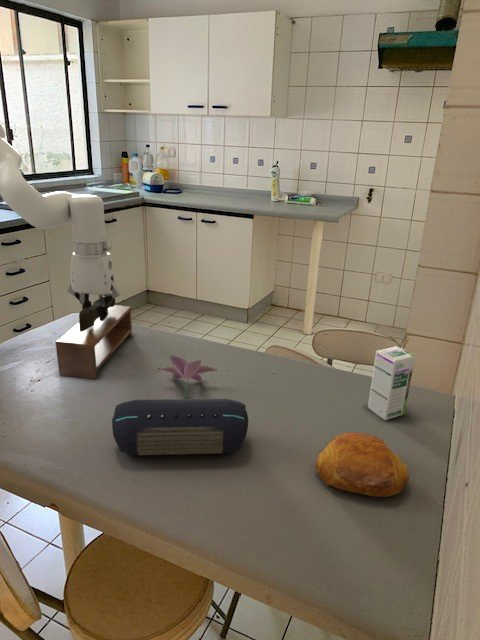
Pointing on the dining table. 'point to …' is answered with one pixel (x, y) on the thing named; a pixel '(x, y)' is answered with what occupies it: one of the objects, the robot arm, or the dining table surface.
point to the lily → (187, 369)
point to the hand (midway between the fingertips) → (95, 317)
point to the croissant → (362, 465)
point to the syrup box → (391, 382)
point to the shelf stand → (93, 343)
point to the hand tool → (91, 314)
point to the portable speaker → (179, 426)
